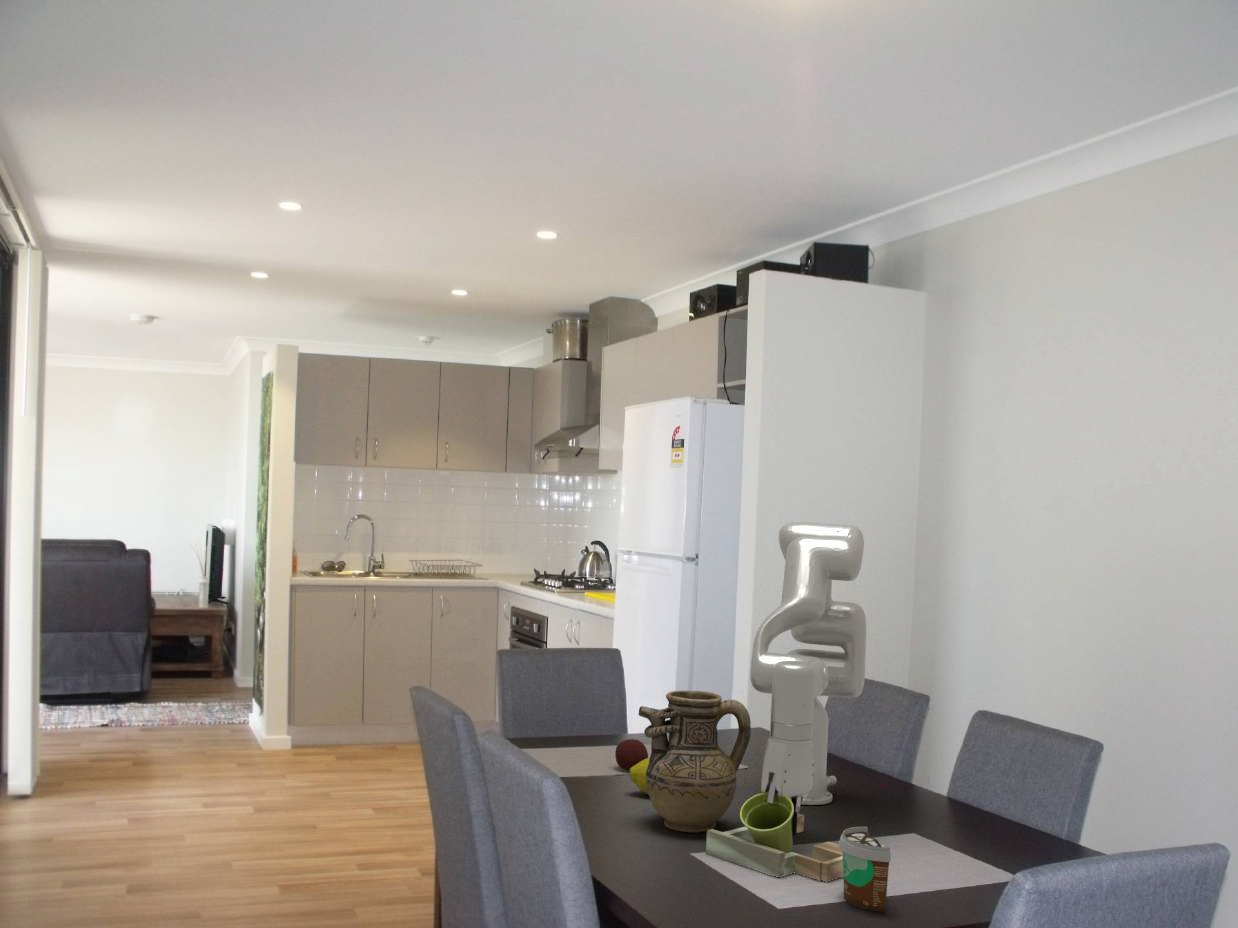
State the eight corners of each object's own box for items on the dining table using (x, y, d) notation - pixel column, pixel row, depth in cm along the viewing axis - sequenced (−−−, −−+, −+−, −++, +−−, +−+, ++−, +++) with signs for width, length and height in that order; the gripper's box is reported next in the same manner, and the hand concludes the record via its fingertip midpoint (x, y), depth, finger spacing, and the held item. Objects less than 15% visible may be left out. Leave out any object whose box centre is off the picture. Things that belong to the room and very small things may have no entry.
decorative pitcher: (740, 816, 223) (746, 690, 224) (752, 843, 205) (758, 705, 206) (631, 811, 222) (638, 684, 223) (633, 837, 205) (640, 699, 206)
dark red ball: (609, 767, 259) (610, 736, 260) (639, 765, 263) (641, 735, 263) (622, 774, 253) (624, 743, 253) (653, 772, 256) (655, 741, 256)
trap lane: (797, 829, 216) (798, 808, 216) (897, 858, 200) (898, 836, 200) (705, 853, 197) (706, 830, 197) (807, 888, 181) (808, 863, 182)
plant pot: (773, 876, 192) (765, 838, 188) (738, 850, 199) (728, 812, 196) (813, 846, 196) (805, 808, 193) (776, 821, 203) (768, 784, 200)
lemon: (679, 792, 239) (681, 754, 240) (680, 801, 231) (682, 762, 232) (629, 789, 240) (630, 751, 240) (628, 798, 232) (630, 759, 232)
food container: (827, 886, 183) (829, 824, 183) (863, 887, 184) (866, 825, 184) (848, 913, 171) (851, 847, 171) (888, 914, 171) (891, 848, 172)
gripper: (798, 722, 209) (794, 821, 208) (748, 732, 198) (743, 836, 198) (832, 730, 203) (828, 831, 203) (782, 740, 193) (777, 847, 192)
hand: (786, 833), depth 200 cm, fingers closed
